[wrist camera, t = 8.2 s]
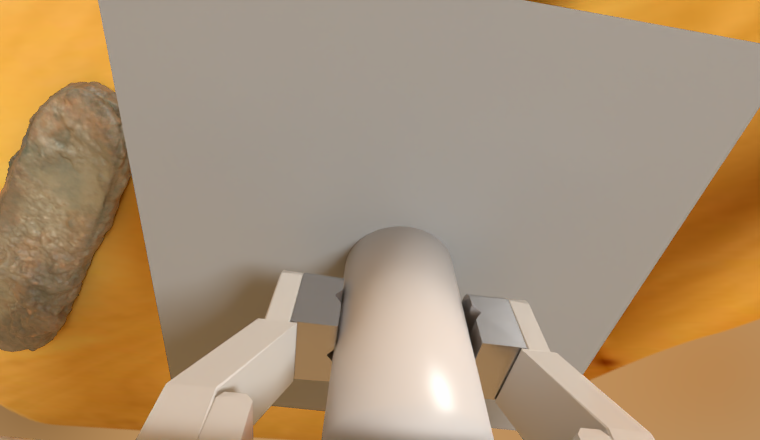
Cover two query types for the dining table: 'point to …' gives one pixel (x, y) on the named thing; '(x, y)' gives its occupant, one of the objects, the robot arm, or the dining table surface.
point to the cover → (413, 177)
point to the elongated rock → (58, 209)
